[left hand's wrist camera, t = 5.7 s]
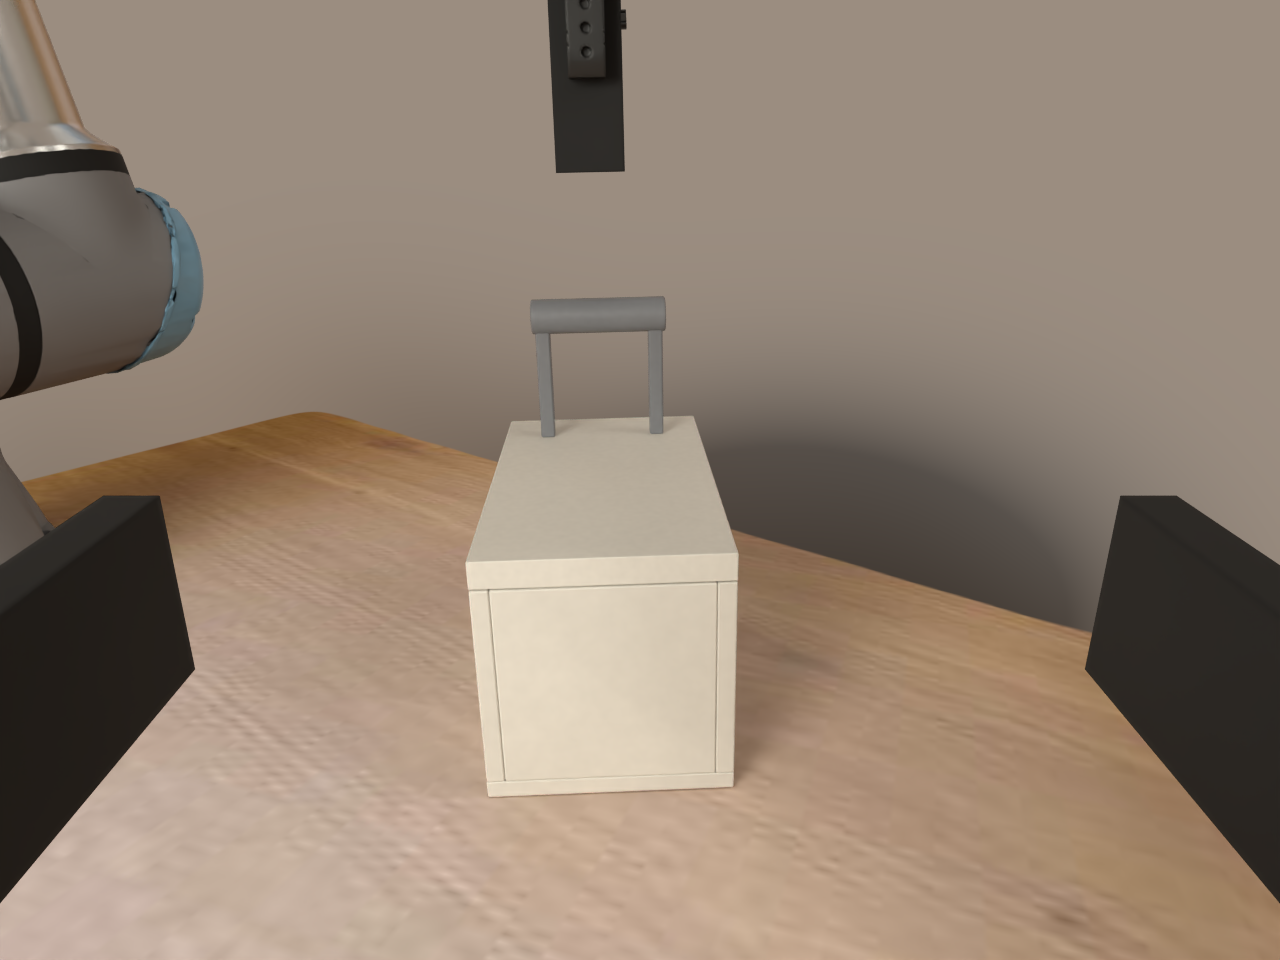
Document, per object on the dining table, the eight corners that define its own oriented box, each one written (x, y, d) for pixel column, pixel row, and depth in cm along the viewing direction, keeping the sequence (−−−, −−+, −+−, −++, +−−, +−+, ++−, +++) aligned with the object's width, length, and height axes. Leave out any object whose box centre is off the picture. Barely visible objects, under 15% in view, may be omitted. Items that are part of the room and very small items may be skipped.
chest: (522, 600, 52) (511, 447, 49) (694, 594, 53) (695, 441, 49) (488, 797, 37) (467, 591, 33) (733, 787, 37) (738, 582, 34)
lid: (512, 441, 50) (501, 291, 47) (693, 435, 50) (693, 287, 47) (467, 590, 33) (447, 373, 30) (738, 580, 34) (742, 365, 31)
